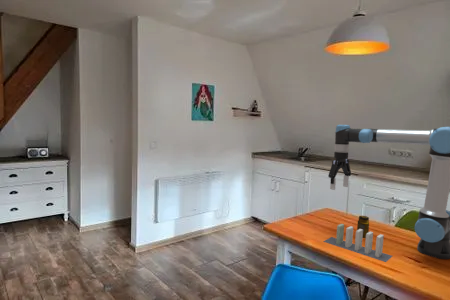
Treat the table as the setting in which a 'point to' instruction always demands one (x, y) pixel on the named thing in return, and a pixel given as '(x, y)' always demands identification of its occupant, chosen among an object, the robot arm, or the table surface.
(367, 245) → the domino
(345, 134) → the robot arm
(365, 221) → the condiment
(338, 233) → the domino
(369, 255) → the mat
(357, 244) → the domino
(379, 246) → the domino
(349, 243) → the domino
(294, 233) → the table surface
